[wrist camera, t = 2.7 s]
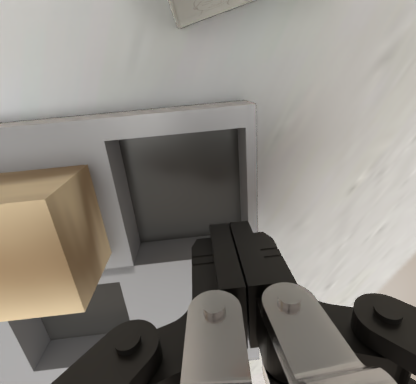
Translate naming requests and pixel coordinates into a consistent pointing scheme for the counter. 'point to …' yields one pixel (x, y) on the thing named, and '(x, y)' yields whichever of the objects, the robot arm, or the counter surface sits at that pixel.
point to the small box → (200, 9)
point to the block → (49, 242)
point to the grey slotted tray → (135, 215)
